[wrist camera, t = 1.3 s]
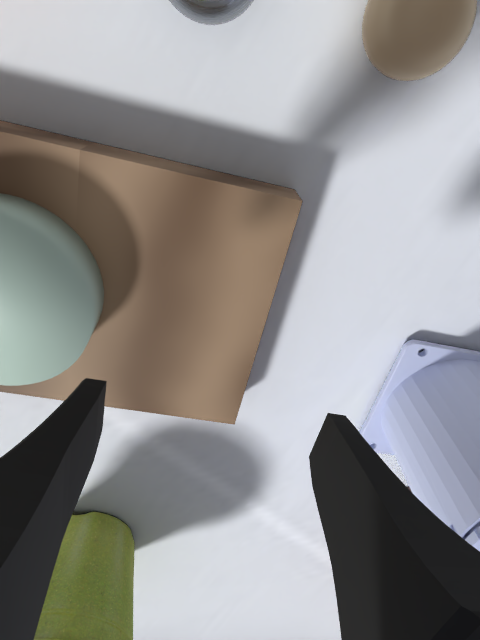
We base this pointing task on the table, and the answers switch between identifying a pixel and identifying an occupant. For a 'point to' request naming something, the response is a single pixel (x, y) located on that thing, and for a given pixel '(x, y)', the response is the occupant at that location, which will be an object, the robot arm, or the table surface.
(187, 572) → the table surface
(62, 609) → the plant pot
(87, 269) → the green smooth pebble
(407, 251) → the table surface
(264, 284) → the brown flat rectangular block
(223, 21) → the steel ball
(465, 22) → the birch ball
